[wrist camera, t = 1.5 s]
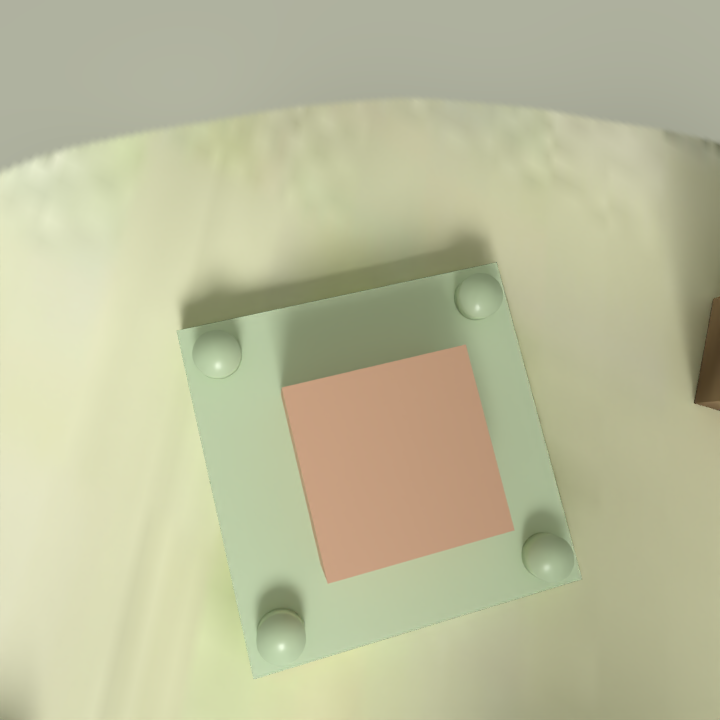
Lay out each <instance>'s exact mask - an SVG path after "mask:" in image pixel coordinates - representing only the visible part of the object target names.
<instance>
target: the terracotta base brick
mask: <svg viewBox="0 0 720 720" xmlns="http://www.w3.org/2000/svg"><path fill="white" fill-rule="evenodd" d="M281 398H282V402H283V406H284V410H285V415H286V419H287V423H288V427H289V432H290V436H291V440H292V445H293V449H294V453H295V457H296V462H297V466H298V470H299V474H300V479H301V483H302V487H303V492H304V496H305V500H306V504H307V509H308V513H309V517H310V521H311V526H312V530H313V534H314V539H315V543H316V547H317V551H318V556H319V560H320V564H321V567H322V570H323V572H324V575H325V578H326V580H327V583H328V584H329V583H333V582H336V581H340V580H343V579H346V578H350V577H353V576H357V575H360V574H364V573H367V572H371V571H374V570H378V569H381V568H385V567H388V566H392V565H395V564H399V563H402V562H406V561H409V560H413V559H416V558H420V557H423V556H427V555H430V554H434V553H437V552H441V551H444V550H448V549H451V548H455V547H458V546H462V545H465V544H469V543H472V542H476V541H479V540H483V539H486V538H490V537H493V536H497V535H500V534H504V533H507V532H510V531H514V526H513V522H512V518H511V515H510V511H509V507H508V503H507V499H506V496H505V492H504V488H503V484H502V480H501V477H500V473H499V469H498V465H497V461H496V458H495V454H494V450H493V446H492V442H491V439H490V435H489V431H488V427H487V423H486V420H485V416H484V412H483V408H482V404H481V401H480V397H479V393H478V389H477V385H476V381H475V378H474V374H473V370H472V366H471V362H470V359H469V355H468V351H467V347H466V345H462V346H457V347H453V348H449V349H444V350H440V351H436V352H432V353H427V354H423V355H419V356H415V357H410V358H406V359H402V360H397V361H393V362H389V363H385V364H380V365H376V366H372V367H368V368H363V369H359V370H355V371H350V372H346V373H342V374H338V375H333V376H329V377H325V378H321V379H316V380H312V381H308V382H303V383H299V384H295V385H291V386H286V387H282V389H281Z"/></svg>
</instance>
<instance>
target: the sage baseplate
mask: <svg viewBox="0 0 720 720" xmlns="http://www.w3.org/2000/svg"><path fill="white" fill-rule="evenodd" d="M177 335H178V339H179V344H180V348H181V353H182V357H183V362H184V366H185V371H186V375H187V380H188V384H189V389H190V393H191V398H192V403H193V407H194V412H195V416H196V421H197V425H198V430H199V434H200V439H201V443H202V448H203V452H204V457H205V461H206V466H207V470H208V475H209V479H210V484H211V488H212V493H213V498H214V502H215V507H216V511H217V516H218V520H219V525H220V529H221V534H222V538H223V543H224V547H225V552H226V556H227V561H228V565H229V570H230V574H231V579H232V583H233V588H234V593H235V597H236V602H237V606H238V611H239V615H240V620H241V624H242V629H243V633H244V638H245V642H246V647H247V651H248V656H249V660H250V665H251V669H252V674H253V679H257V678H260V677H263V676H266V675H270V674H273V673H276V672H280V671H283V670H286V669H289V668H293V667H296V666H299V665H302V664H306V663H309V662H312V661H316V660H319V659H322V658H325V657H329V656H332V655H335V654H339V653H342V652H345V651H348V650H352V649H355V648H358V647H361V646H365V645H368V644H371V643H375V642H378V641H381V640H384V639H388V638H391V637H394V636H398V635H401V634H404V633H407V632H411V631H414V630H417V629H420V628H424V627H427V626H430V625H434V624H437V623H440V622H443V621H447V620H450V619H453V618H457V617H460V616H463V615H466V614H470V613H473V612H476V611H479V610H483V609H486V608H489V607H493V606H496V605H499V604H502V603H506V602H509V601H512V600H516V599H519V598H522V597H525V596H529V595H532V594H535V593H538V592H542V591H545V590H548V589H552V588H555V587H558V586H561V585H565V584H568V583H571V582H574V581H578V580H581V579H582V576H581V573H580V569H579V565H578V562H577V558H576V554H575V551H574V547H573V543H572V539H571V536H570V532H569V528H568V525H567V521H566V517H565V514H564V510H563V506H562V502H561V499H560V495H559V491H558V488H557V484H556V480H555V477H554V473H553V469H552V466H551V462H550V458H549V454H548V451H547V447H546V443H545V440H544V436H543V432H542V429H541V425H540V421H539V417H538V414H537V410H536V406H535V403H534V399H533V395H532V392H531V388H530V384H529V380H528V377H527V373H526V369H525V366H524V362H523V358H522V355H521V351H520V347H519V343H518V340H517V336H516V332H515V329H514V325H513V321H512V318H511V314H510V310H509V307H508V303H507V299H506V295H505V292H504V288H503V284H502V281H501V277H500V273H499V270H498V266H497V262H495V263H491V264H486V265H481V266H477V267H472V268H467V269H463V270H458V271H453V272H449V273H444V274H439V275H435V276H430V277H425V278H421V279H416V280H411V281H407V282H402V283H397V284H393V285H388V286H383V287H379V288H374V289H369V290H365V291H360V292H355V293H351V294H346V295H341V296H337V297H332V298H327V299H323V300H318V301H313V302H309V303H304V304H299V305H294V306H290V307H285V308H280V309H276V310H271V311H266V312H262V313H257V314H252V315H248V316H243V317H238V318H234V319H229V320H224V321H220V322H215V323H210V324H206V325H201V326H196V327H192V328H187V329H182V330H178V331H177ZM462 345H466V347H467V351H468V355H469V359H470V362H471V366H472V370H473V374H474V378H475V381H476V385H477V389H478V393H479V397H480V401H481V404H482V408H483V412H484V416H485V420H486V423H487V427H488V431H489V435H490V439H491V442H492V446H493V450H494V454H495V458H496V461H497V465H498V469H499V473H500V477H501V480H502V484H503V488H504V492H505V496H506V499H507V503H508V507H509V511H510V515H511V518H512V522H513V526H514V531H510V532H507V533H504V534H500V535H497V536H493V537H490V538H486V539H483V540H479V541H476V542H472V543H469V544H465V545H462V546H458V547H455V548H451V549H448V550H444V551H441V552H437V553H434V554H430V555H427V556H423V557H420V558H416V559H413V560H409V561H406V562H402V563H399V564H395V565H392V566H388V567H385V568H381V569H378V570H374V571H371V572H367V573H364V574H360V575H357V576H353V577H350V578H346V579H343V580H340V581H336V582H333V583H329V584H328V583H327V580H326V578H325V575H324V572H323V570H322V567H321V564H320V560H319V556H318V551H317V547H316V543H315V539H314V534H313V530H312V526H311V521H310V517H309V513H308V509H307V504H306V500H305V496H304V492H303V487H302V483H301V479H300V474H299V470H298V466H297V462H296V457H295V453H294V449H293V445H292V440H291V436H290V432H289V427H288V423H287V419H286V415H285V410H284V406H283V402H282V398H281V389H282V387H286V386H291V385H295V384H299V383H303V382H308V381H312V380H316V379H321V378H325V377H329V376H333V375H338V374H342V373H346V372H350V371H355V370H359V369H363V368H368V367H372V366H376V365H380V364H385V363H389V362H393V361H397V360H402V359H406V358H410V357H415V356H419V355H423V354H427V353H432V352H436V351H440V350H444V349H449V348H453V347H457V346H462Z"/></svg>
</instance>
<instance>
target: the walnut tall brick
mask: <svg viewBox="0 0 720 720" xmlns="http://www.w3.org/2000/svg"><path fill="white" fill-rule="evenodd" d="M694 403H695V404H699V405H702V406H705V407H709V408H712V409H716V410H719V411H720V297H717V298H714V299H713V304H712V309H711V315H710V320H709V326H708V331H707V336H706V342H705V347H704V353H703V358H702V364H701V369H700V375H699V380H698V386H697V391H696V397H695V402H694Z"/></svg>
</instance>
